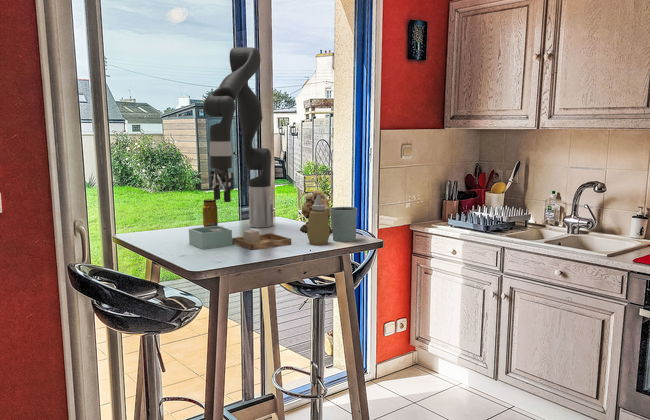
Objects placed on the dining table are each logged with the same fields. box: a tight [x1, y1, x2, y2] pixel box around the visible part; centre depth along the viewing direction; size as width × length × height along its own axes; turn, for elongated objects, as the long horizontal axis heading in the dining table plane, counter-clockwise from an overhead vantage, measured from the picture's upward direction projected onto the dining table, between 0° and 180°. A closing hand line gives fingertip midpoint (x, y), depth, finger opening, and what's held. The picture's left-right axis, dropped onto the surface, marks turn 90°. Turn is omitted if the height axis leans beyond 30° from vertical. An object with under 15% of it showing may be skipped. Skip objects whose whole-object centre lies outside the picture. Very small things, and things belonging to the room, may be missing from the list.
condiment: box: [202, 198, 224, 227], centre depth 231 cm, size 7×8×12 cm
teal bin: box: [188, 225, 233, 250], centre depth 194 cm, size 11×11×6 cm
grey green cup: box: [329, 206, 358, 243], centre depth 205 cm, size 10×10×12 cm
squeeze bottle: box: [306, 195, 331, 246], centre depth 195 cm, size 8×8×18 cm
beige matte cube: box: [242, 229, 261, 244], centre depth 192 cm, size 4×4×5 cm
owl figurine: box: [299, 189, 333, 235], centre depth 222 cm, size 18×12×17 cm, turn 34°
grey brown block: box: [209, 228, 224, 232], centre depth 195 cm, size 4×4×5 cm
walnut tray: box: [232, 232, 292, 251], centre depth 195 cm, size 16×14×3 cm
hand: (222, 200), depth 193 cm, fingers open, 8 cm apart
